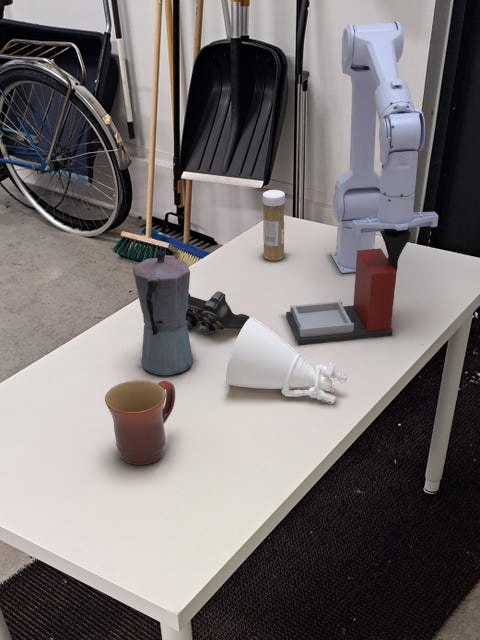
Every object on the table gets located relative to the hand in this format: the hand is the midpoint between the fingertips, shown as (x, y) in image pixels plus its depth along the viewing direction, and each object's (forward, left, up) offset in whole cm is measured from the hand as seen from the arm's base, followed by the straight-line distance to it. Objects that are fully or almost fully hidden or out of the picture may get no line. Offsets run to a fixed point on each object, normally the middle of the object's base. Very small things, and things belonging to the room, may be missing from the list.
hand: (391, 270), depth 151 cm
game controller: (-6, -33, -11) cm, 35 cm away
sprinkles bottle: (-33, -15, -11) cm, 38 cm away
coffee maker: (-1, -9, -10) cm, 14 cm away
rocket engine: (+20, -23, -11) cm, 32 cm away
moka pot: (+7, -41, -11) cm, 43 cm away
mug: (+31, -46, -11) cm, 57 cm away
